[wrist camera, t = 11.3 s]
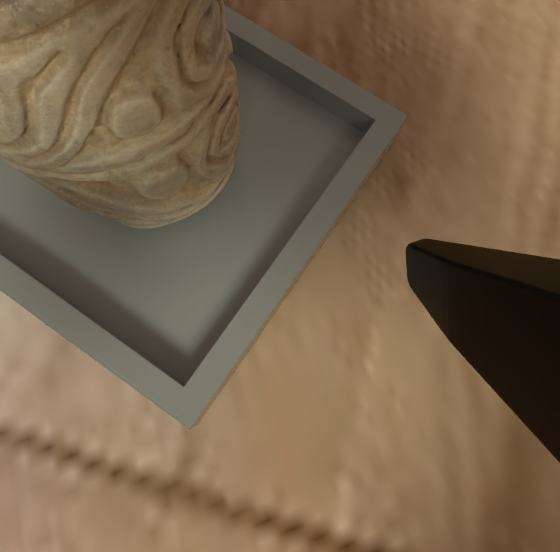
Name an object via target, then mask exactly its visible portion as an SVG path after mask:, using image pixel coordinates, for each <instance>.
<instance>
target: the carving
mask: <svg viewBox="0 0 560 552" xmlns="http://www.w3.org/2000/svg"><path fill="white" fill-rule="evenodd" d="M226 29H227V25H226V18H225V11H224V2H223V0H0V156H1V157H2V159H3V160H4V161H5V162H6V163H7V164H9V165H10V166H11V167H13V168H14V169H16V170H18V171H19V172H21V173H22V174H24V175H25V176H27V177H28V178H30V179H32V180H33V181H35V182H37V183H39V184H40V185H42V186H43V187H44V188H46V189H47V190H49V191H50V192H51V193H53V194H54V195H56V196H57V197H59V198H60V199H62V200H63V201H65V202H67V203H69V204H71V205H72V206H74V207H76V208H79V209H81V210H84V211H87V212H90V213H93V214H96V215H99V216H101V217H104V218H106V219H109V220H112V221H114V222H117V223H120V224H123V225H126V226H129V227H134V228H139V229H151V228H157V227H161V226H166V225H169V224H172V223H174V222H177V221H180V220H182V219H185V218H187V217H189V216H191V215H193V214H194V213H196V212H198V211H199V210H201V209H203V208H204V207H206V206H207V205H208V204H209V203H210V202H211V201H212V200H213V199H214V198H215V197H216V196H217V195H218V194H219V193H220V192H221V191H222V189H223V188H224V187H225V185H226V183H227V182H228V180H229V178H230V176H231V173H232V170H233V168H234V164H235V160H236V154H237V149H238V145H239V142H240V137H241V120H240V107H239V92H238V87H237V86H236V85H235V83H236V80H237V77H236V70H235V67H234V65H233V63H232V61H230V60H229V59H228V58H229V57H230V56H231V54H232V52H233V48H232V42H231V38H230V35H229V33H228V31H226Z"/></svg>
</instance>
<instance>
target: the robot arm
mask: <svg viewBox="0 0 560 552" xmlns="http://www.w3.org/2000/svg"><path fill="white" fill-rule="evenodd" d="M406 265H407V278H408V282H409V285H410V287H411V289H412V290H413V291H414V293H415V294H416V296H417V297H418V298H419V300H420V301H421V303H422V304H423V305H424V307H425V308H426V310H427V311H428V312H429V314H430V315H431V317H432V318H433V319H434V321H435V322H436V323H437V325H438V326H439V328H440V329H441V330H442V332H443V333H444V334H445V336H446V337H447V338H448V340H449V341H450V342H451V343H452V344H453V345H454V347H455V348H456V349H457V350H458V351H459V352H460V353H461V354H462V356H463V357H464V358H465V359H466V360H467V361H468V362H469V363H470V364H471V365H472V367H473V368H474V369H475V370H476V371H477V372H478V373H479V374H480V375H481V376H482V378H483V379H484V380H485V381H486V382H487V383H488V384H489V385H490V386H491V387H492V389H493V390H494V391H495V392H496V393H497V394H498V395H499V396H500V397H501V399H502V400H503V401H504V402H505V403H506V404H507V405H508V406H509V407H510V408H511V410H512V411H513V412H514V413H515V414H516V415H517V416H518V417H519V418H520V419H521V421H522V422H523V423H524V424H525V425H526V426H527V427H528V428H529V429H530V430H531V432H532V433H533V434H534V435H535V436H536V437H537V438H538V439H539V440H540V441H541V443H542V444H543V445H544V446H545V447H546V448H547V449H548V450H549V451H550V452H551V454H552V455H553V456H554V457H555V458H556V459H557V460H558V461H559V462H560V259H553V258H547V257H541V256H534V255H528V254H522V253H515V252H509V251H502V250H496V249H490V248H483V247H477V246H471V245H464V244H458V243H452V242H445V241H439V240H433V239H421V240H418V241H415V242H413V243H410V244H408V246H407V247H406Z"/></svg>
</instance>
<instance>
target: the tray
mask: <svg viewBox="0 0 560 552" xmlns="http://www.w3.org/2000/svg"><path fill="white" fill-rule="evenodd" d="M224 11H225V18H226V25H227V29H226V31H228V33H229V35H230V38H231V42H232V48H233V52H232V54H231V56H230V57H229V58H228V59H229V60H230V61H232V63H233V65H234V67H235V70H236V77H237V80H236V83H235V85H236V86H237V87H238V92H239V107H240V120H241V137H240V142H239V145H238V149H237V154H236V160H235V164H234V168H233V170H232V173H231V176H230V178H229V180H228V182H227V183H226V185H225V187H224V188H223V189H222V191H221V192H220V193H219V194H218V195H217V196H216V197H215V198H214V199H213V200H212V201H211V202H210V203H209V204H208V205H207V206H206V207H204V208H203V209H201V210H199V211H198V212H196V213H194V214H193V215H191V216H189V217H187V218H185V219H182V220H180V221H177V222H174V223H172V224H169V225H166V226H161V227H157V228H151V229H139V228H134V227H129V226H126V225H123V224H120V223H117V222H114V221H112V220H109V219H106V218H104V217H101V216H99V215H96V214H93V213H90V212H87V211H84V210H81V209H79V208H76V207H74V206H72V205H71V204H69V203H67V202H65V201H63V200H62V199H60V198H59V197H57V196H56V195H54V194H53V193H51V192H50V191H49V190H47V189H46V188H44V187H43V186H42V185H40V184H39V183H37V182H35V181H33V180H32V179H30V178H28V177H27V176H25V175H24V174H22V173H21V172H19V171H18V170H16V169H14V168H13V167H11V166H10V165H9V164H7V163H6V162H5V161H4V160H3V159H2V157H1V156H0V290H1V291H2V292H3V293H5V294H6V295H7V296H9V297H10V298H12V299H13V300H14V301H16V302H17V303H18V304H20V305H21V306H22V307H24V308H25V309H26V310H28V311H29V312H31V313H32V314H33V315H35V316H36V317H37V318H39V319H40V320H41V321H43V322H44V323H46V324H47V325H48V326H50V327H51V328H52V329H54V330H55V331H56V332H58V333H59V334H60V335H62V336H63V337H65V338H66V339H67V340H69V341H70V342H71V343H73V344H74V345H75V346H77V347H78V348H80V349H81V350H82V351H84V352H85V353H86V354H88V355H89V356H90V357H92V358H93V359H94V360H96V361H97V362H99V363H100V364H101V365H103V366H104V367H105V368H107V369H108V370H109V371H111V372H112V373H114V374H115V375H116V376H118V377H119V378H120V379H122V380H123V381H124V382H126V383H127V384H128V385H130V386H131V387H133V388H134V389H135V390H137V391H138V392H139V393H141V394H142V395H143V396H145V397H146V398H148V399H149V400H150V401H152V402H153V403H154V404H156V405H157V406H158V407H160V408H161V409H162V410H164V411H165V412H167V413H168V414H169V415H171V416H172V417H173V418H175V419H176V420H177V421H179V422H180V423H182V424H183V425H184V426H186V427H187V428H188V429H191V428H192V427H194V426H196V425H198V423H199V422H200V420H201V419H202V418H203V416H204V415H205V413H206V412H207V410H208V409H209V407H210V406H211V405H212V403H213V402H214V400H215V399H216V397H217V396H218V394H219V393H220V392H221V390H222V389H223V387H224V386H225V384H226V383H227V381H228V380H229V379H230V377H231V376H232V374H233V373H234V371H235V370H236V369H237V367H238V366H239V364H240V363H241V361H242V360H243V358H244V357H245V356H246V354H247V353H248V351H249V350H250V348H251V347H252V345H253V344H254V343H255V341H256V340H257V338H258V337H259V335H260V334H261V332H262V331H263V330H264V328H265V327H266V325H267V324H268V322H269V321H270V319H271V318H272V317H273V315H274V314H275V312H276V311H277V309H278V308H279V307H280V305H281V304H282V302H283V301H284V299H285V298H286V296H287V295H288V294H289V292H290V291H291V289H292V288H293V286H294V285H295V283H296V282H297V281H298V279H299V278H300V276H301V275H302V273H303V272H304V270H305V269H306V268H307V266H308V265H309V263H310V262H311V260H312V259H313V258H314V256H315V255H316V253H317V252H318V250H319V249H320V247H321V246H322V245H323V243H324V242H325V240H326V239H327V237H328V236H329V234H330V233H331V232H332V230H333V229H334V227H335V226H336V224H337V223H338V221H339V220H340V219H341V217H342V216H343V214H344V213H345V211H346V210H347V208H348V207H349V206H350V204H351V203H352V201H353V200H354V198H355V197H356V196H357V194H358V193H359V191H360V190H361V188H362V187H363V185H364V184H365V183H366V181H367V180H368V178H369V177H370V175H371V174H372V172H373V171H374V170H375V168H376V167H377V165H378V164H379V162H380V161H381V159H382V158H383V157H384V155H385V154H386V152H387V151H388V149H389V148H390V146H391V145H392V144H393V142H394V141H395V139H396V137H397V135H398V133H399V131H400V130H401V128H402V126H403V124H404V122H405V120H406V118H407V117H408V115H407V114H406V113H404V112H402V111H401V110H399V109H397V108H396V107H394V106H392V105H391V104H389V103H387V102H386V101H384V100H382V99H381V98H379V97H377V96H376V95H374V94H372V93H371V92H369V91H367V90H366V89H364V88H362V87H361V86H359V85H357V84H356V83H354V82H352V81H351V80H349V79H347V78H346V77H344V76H342V75H341V74H339V73H337V72H336V71H334V70H333V69H331V68H329V67H328V66H326V65H324V64H323V63H321V62H319V61H318V60H316V59H314V58H313V57H311V56H309V55H308V54H306V53H304V52H303V51H301V50H299V49H298V48H296V47H294V46H293V45H291V44H289V43H288V42H286V41H284V40H283V39H281V38H279V37H278V36H276V35H274V34H273V33H271V32H269V31H268V30H266V29H264V28H263V27H261V26H259V25H258V24H256V23H254V22H253V21H251V20H249V19H248V18H246V17H244V16H243V15H241V14H239V13H238V12H236V11H234V10H233V9H231V8H229V7H228V6H226V5H224Z"/></svg>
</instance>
